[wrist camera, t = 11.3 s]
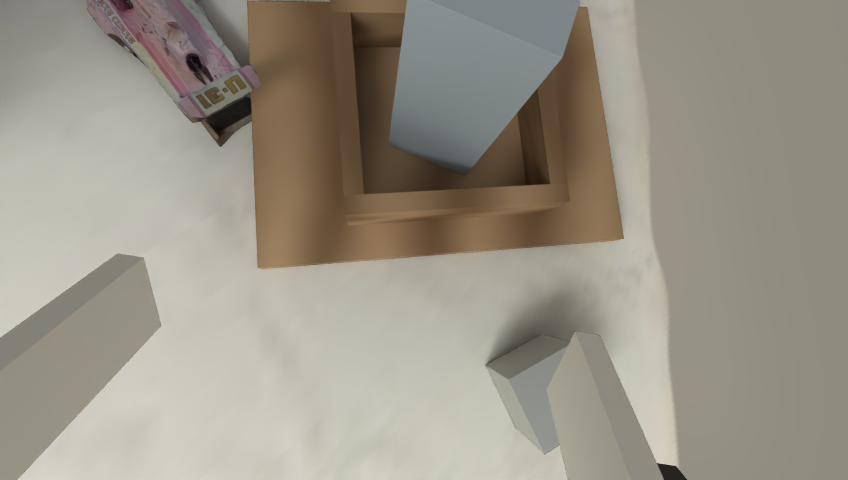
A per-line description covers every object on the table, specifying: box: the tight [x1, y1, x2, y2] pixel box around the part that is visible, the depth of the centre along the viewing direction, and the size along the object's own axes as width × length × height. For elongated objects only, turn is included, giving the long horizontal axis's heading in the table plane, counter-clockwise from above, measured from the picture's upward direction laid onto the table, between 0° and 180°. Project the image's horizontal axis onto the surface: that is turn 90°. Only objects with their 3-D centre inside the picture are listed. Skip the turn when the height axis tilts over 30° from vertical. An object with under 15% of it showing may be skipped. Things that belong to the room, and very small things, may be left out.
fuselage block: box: [388, 0, 580, 176], centre depth 18 cm, size 5×5×12 cm
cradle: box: [247, 0, 624, 269], centre depth 23 cm, size 22×16×4 cm
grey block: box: [485, 335, 570, 454], centre depth 22 cm, size 4×4×4 cm
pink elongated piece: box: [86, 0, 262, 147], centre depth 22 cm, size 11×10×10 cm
